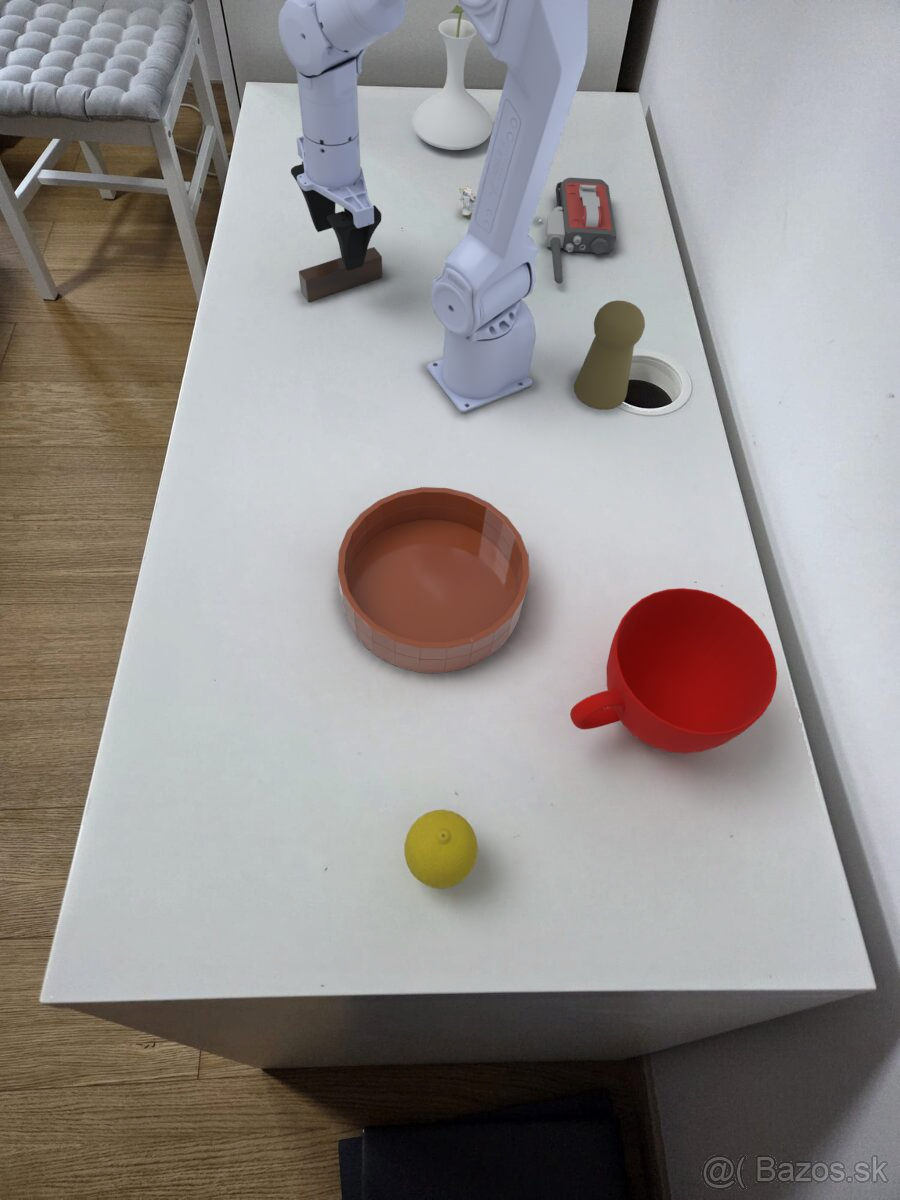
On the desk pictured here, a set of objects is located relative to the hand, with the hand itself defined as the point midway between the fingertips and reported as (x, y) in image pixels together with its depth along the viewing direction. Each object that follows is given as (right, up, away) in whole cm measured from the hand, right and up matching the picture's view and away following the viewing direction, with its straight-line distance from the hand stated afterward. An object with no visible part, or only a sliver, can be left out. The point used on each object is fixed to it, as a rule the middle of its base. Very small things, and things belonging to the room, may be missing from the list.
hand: (339, 247), depth 94 cm
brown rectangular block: (0, -3, +4) cm, 5 cm away
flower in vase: (+14, +26, +22) cm, 37 cm away
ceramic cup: (+30, -51, -22) cm, 63 cm away
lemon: (+12, -62, -29) cm, 70 cm away
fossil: (+19, +7, +10) cm, 23 cm away
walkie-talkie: (+29, +6, +11) cm, 32 cm away
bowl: (+11, -40, -17) cm, 45 cm away
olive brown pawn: (+30, -17, -2) cm, 35 cm away
